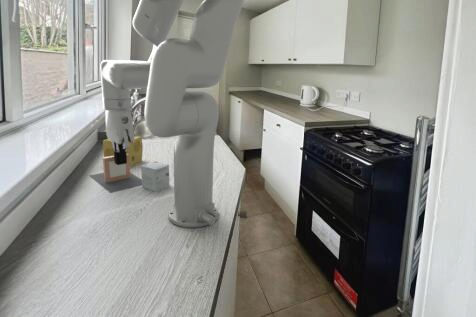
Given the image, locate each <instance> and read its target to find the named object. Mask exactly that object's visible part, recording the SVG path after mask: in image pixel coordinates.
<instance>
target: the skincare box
mask: <svg viewBox="0 0 476 317" xmlns="http://www.w3.org/2000/svg"><path fill="white" fill-rule="evenodd" d="M140 168H141V179H142V185H141V188H145V189H146V190H147V189H148V190H150V191H151V190H152V191H154V192H157V191H160V190H161V189H164V188H166V187H169V186H170V165H169V164H167V163H164V162H159V161H153V162H148V163H146V164H142V165H141V166H140Z"/></svg>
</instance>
